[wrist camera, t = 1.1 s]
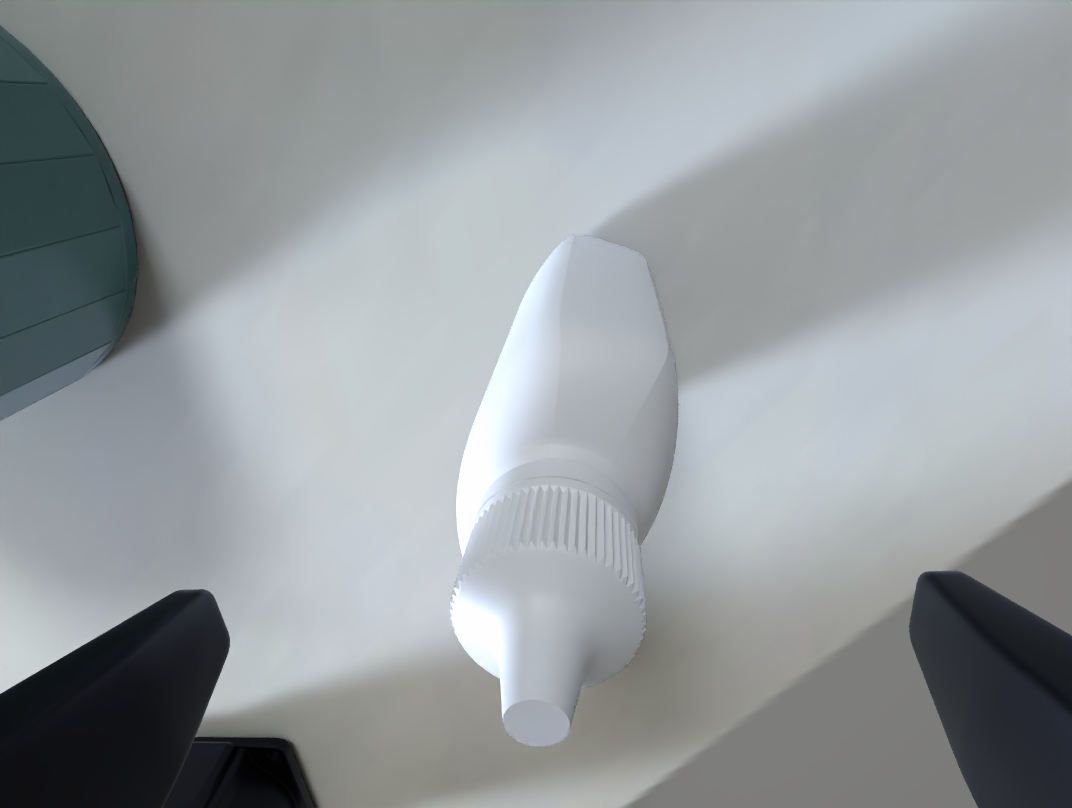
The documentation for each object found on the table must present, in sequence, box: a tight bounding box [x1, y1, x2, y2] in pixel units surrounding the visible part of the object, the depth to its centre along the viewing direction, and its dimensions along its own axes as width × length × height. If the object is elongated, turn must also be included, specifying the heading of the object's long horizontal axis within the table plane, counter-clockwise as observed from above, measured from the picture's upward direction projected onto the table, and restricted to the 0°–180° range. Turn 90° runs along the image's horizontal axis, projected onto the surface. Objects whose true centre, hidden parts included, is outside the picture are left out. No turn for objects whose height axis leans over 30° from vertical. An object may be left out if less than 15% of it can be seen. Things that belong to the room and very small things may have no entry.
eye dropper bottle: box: [450, 235, 678, 747], centre depth 12 cm, size 4×6×12 cm
